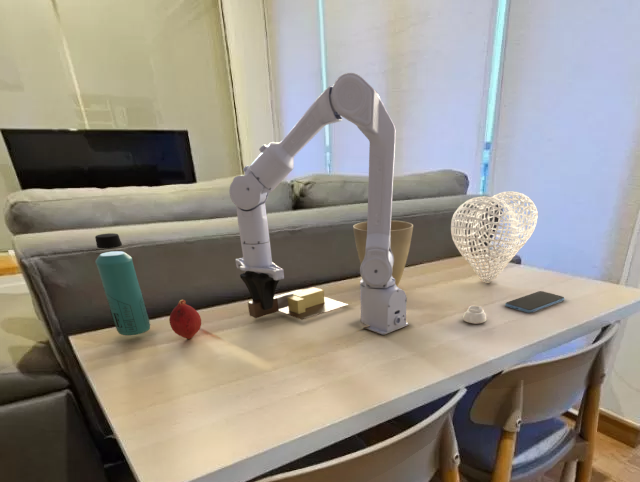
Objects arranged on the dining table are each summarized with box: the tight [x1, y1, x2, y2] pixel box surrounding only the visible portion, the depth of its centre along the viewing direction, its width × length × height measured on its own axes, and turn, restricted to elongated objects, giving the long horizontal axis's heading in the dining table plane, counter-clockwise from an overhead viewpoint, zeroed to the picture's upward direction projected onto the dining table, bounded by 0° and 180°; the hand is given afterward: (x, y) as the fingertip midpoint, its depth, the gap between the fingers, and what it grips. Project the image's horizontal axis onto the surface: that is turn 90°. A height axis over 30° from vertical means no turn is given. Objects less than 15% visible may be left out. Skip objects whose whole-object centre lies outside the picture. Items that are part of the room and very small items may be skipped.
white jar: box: [462, 305, 488, 325], centre depth 100 cm, size 5×3×5 cm
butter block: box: [293, 286, 325, 308], centre depth 107 cm, size 4×7×3 cm, turn 136°
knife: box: [247, 293, 293, 319], centre depth 101 cm, size 11×2×3 cm, turn 136°
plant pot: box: [352, 220, 414, 288], centre depth 118 cm, size 15×15×16 cm
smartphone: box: [504, 290, 565, 314], centre depth 110 cm, size 7×1×15 cm
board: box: [274, 289, 350, 321], centre depth 109 cm, size 18×14×1 cm
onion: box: [168, 299, 202, 340], centre depth 91 cm, size 6×6×8 cm
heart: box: [450, 190, 539, 284], centre depth 121 cm, size 28×16×22 cm, turn 139°
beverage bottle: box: [94, 232, 152, 336], centre depth 89 cm, size 6×7×20 cm
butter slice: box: [288, 296, 305, 314], centre depth 103 cm, size 4×2×3 cm, turn 46°
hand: (263, 307), depth 100 cm, fingers closed on knife, 2 cm apart
